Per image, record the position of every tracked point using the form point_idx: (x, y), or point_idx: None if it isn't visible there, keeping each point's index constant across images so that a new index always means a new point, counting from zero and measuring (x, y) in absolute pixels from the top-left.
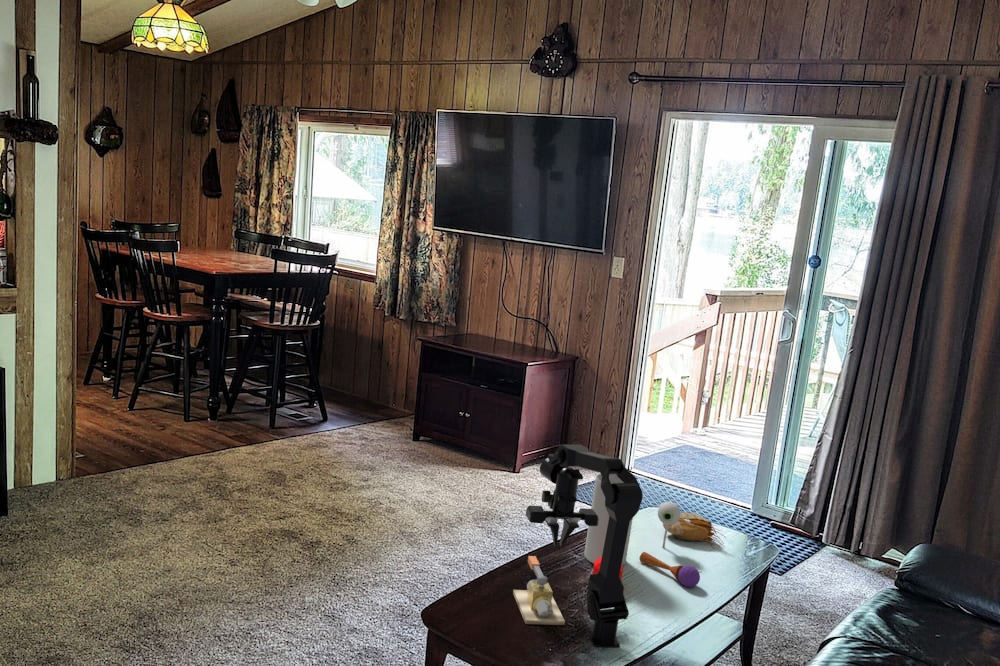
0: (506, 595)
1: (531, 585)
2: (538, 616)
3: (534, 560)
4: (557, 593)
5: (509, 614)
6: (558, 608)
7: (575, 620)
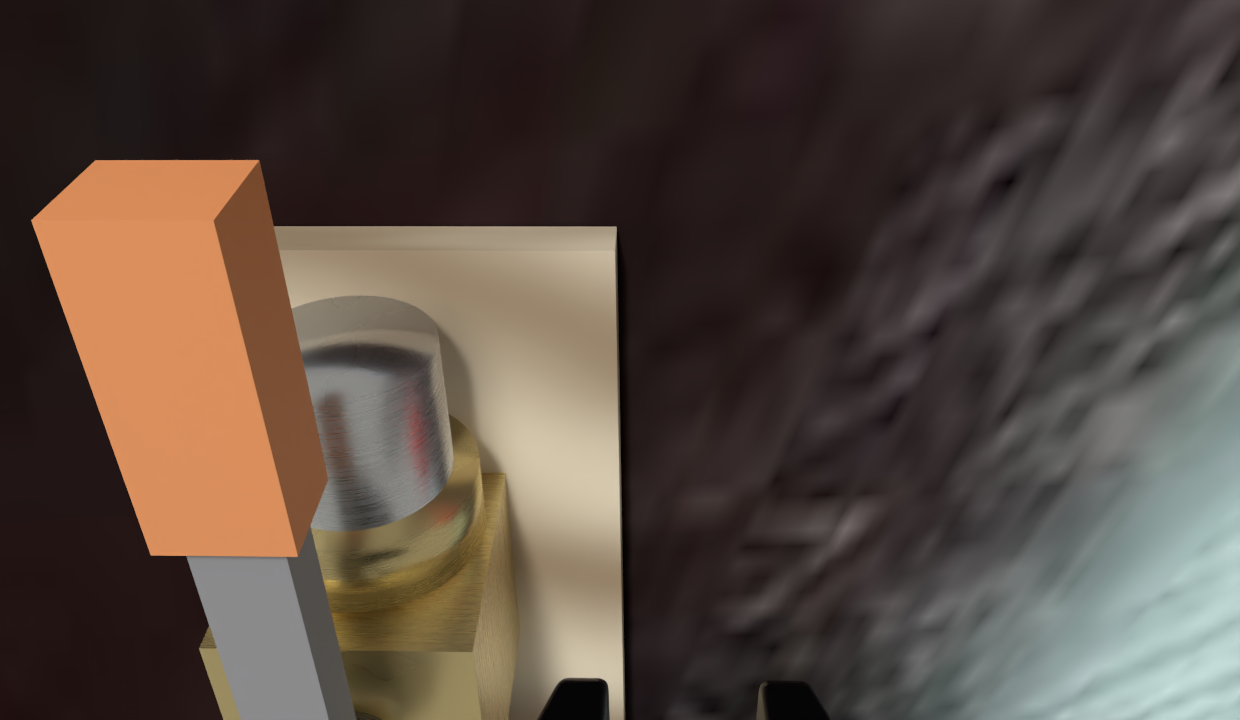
0: (40, 279)
1: (227, 714)
2: None
3: (190, 422)
4: (745, 182)
5: (120, 617)
6: (620, 601)
7: (758, 679)
